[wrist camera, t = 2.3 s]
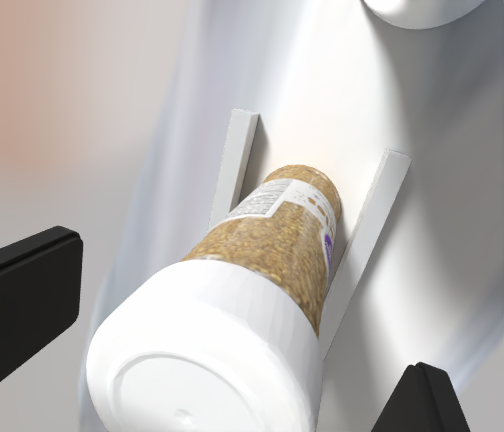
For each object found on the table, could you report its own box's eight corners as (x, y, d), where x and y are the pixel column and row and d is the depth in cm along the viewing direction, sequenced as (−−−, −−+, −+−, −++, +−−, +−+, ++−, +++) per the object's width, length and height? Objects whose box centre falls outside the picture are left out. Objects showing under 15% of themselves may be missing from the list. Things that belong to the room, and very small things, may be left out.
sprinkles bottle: (351, 230, 18) (351, 526, 5) (273, 249, 19) (138, 508, 7) (325, 149, 17) (252, 286, 4) (245, 176, 18) (33, 331, 6)
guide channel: (241, 108, 17) (190, 112, 12) (406, 154, 16) (436, 184, 10) (170, 436, 28) (126, 518, 22) (266, 482, 26) (243, 582, 21)
